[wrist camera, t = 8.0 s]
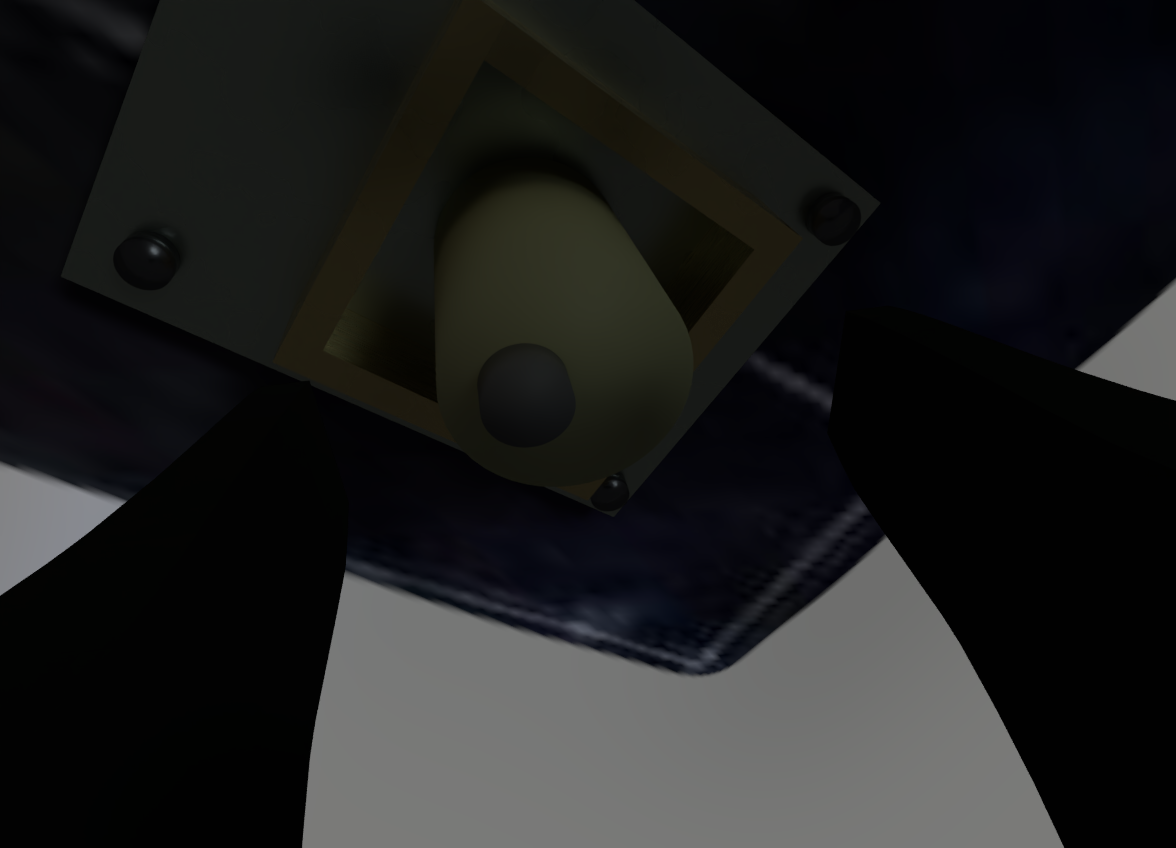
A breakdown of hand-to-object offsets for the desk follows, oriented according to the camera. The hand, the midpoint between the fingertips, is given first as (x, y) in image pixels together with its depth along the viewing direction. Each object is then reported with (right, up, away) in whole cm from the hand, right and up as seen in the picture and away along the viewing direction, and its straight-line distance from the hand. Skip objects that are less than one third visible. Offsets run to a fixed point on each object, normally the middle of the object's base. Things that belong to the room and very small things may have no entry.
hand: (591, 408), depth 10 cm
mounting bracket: (-2, +5, +9) cm, 10 cm away
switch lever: (-2, +4, +8) cm, 9 cm away
